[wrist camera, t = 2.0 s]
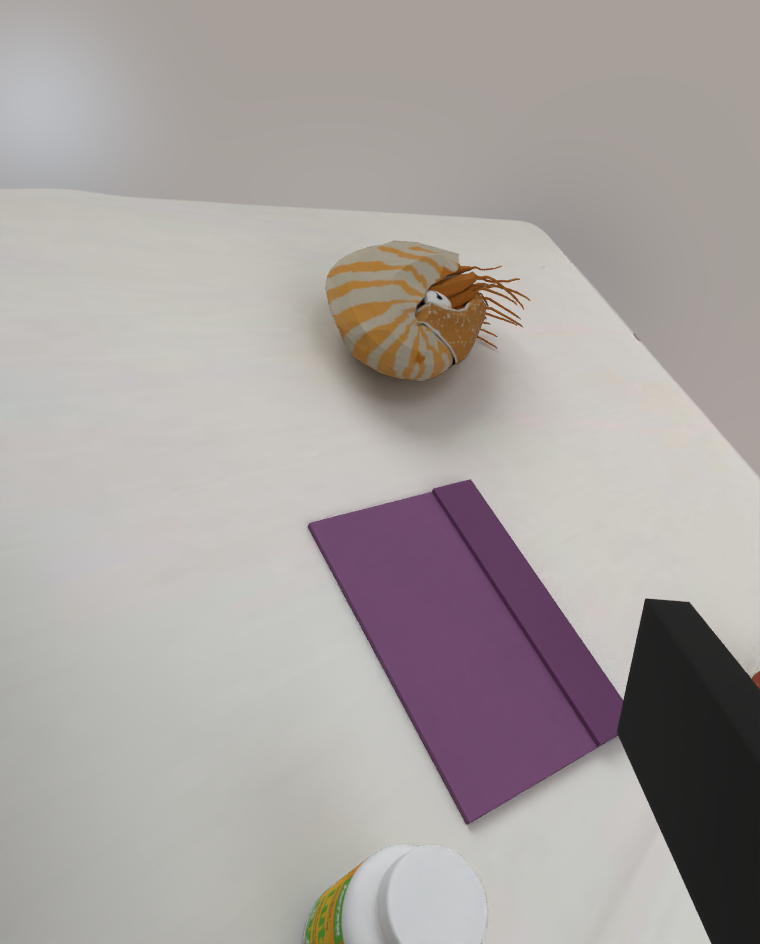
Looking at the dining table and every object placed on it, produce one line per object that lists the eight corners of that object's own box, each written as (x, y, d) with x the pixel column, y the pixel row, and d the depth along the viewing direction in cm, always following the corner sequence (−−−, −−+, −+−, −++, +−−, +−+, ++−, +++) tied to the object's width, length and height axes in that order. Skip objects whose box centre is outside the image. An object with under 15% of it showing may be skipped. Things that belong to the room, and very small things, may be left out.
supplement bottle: (290, 893, 33) (353, 837, 26) (395, 869, 35) (479, 812, 29) (312, 1036, 30) (389, 1015, 23) (426, 1001, 32) (527, 972, 25)
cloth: (307, 526, 47) (310, 519, 47) (468, 484, 55) (472, 478, 54) (466, 824, 38) (473, 820, 38) (633, 726, 46) (640, 721, 45)
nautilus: (482, 300, 74) (544, 412, 66) (287, 275, 63) (334, 406, 55) (524, 237, 68) (596, 352, 60) (318, 197, 57) (374, 331, 50)
